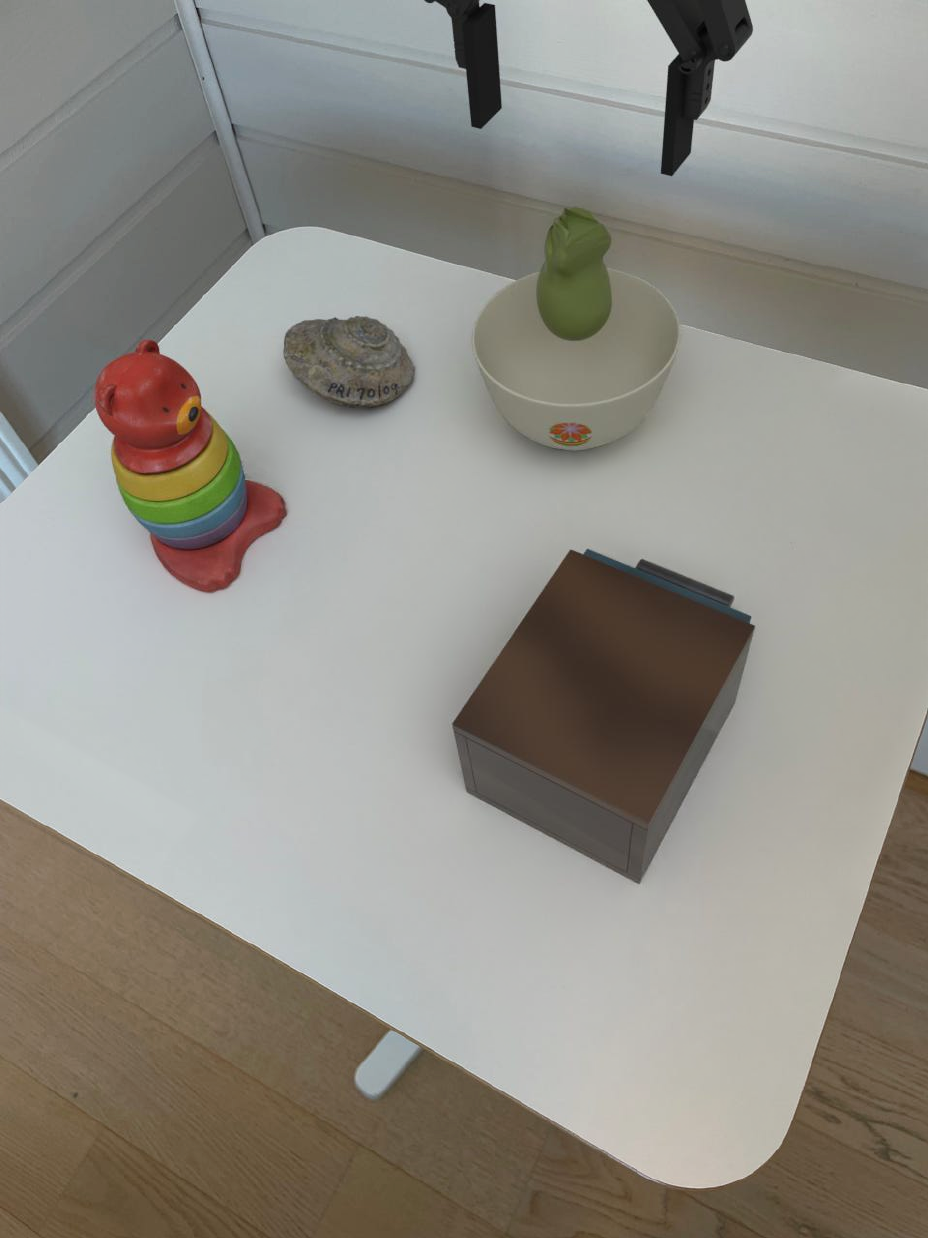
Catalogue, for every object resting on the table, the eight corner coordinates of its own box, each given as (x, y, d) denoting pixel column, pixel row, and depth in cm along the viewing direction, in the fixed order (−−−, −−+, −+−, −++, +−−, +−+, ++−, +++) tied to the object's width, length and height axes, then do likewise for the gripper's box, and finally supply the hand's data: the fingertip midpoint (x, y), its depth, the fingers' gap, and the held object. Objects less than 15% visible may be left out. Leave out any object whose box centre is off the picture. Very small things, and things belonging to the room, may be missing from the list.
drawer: (612, 573, 75) (615, 504, 69) (759, 634, 71) (778, 568, 65) (491, 761, 68) (482, 704, 61) (648, 842, 64) (656, 791, 57)
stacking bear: (219, 601, 79) (137, 441, 64) (122, 557, 82) (23, 396, 67) (297, 505, 83) (237, 335, 69) (202, 467, 87) (126, 298, 72)
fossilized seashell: (360, 427, 85) (333, 349, 81) (279, 419, 92) (250, 348, 88) (436, 370, 91) (414, 296, 87) (355, 367, 98) (331, 298, 94)
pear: (584, 298, 79) (584, 182, 71) (625, 334, 77) (631, 217, 68) (525, 328, 78) (519, 214, 70) (565, 365, 75) (564, 250, 67)
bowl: (698, 387, 87) (711, 291, 78) (626, 519, 79) (632, 429, 71) (530, 341, 92) (525, 247, 84) (449, 461, 85) (435, 371, 76)
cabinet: (571, 629, 74) (570, 548, 66) (734, 703, 70) (755, 625, 61) (466, 792, 68) (451, 723, 60) (639, 884, 63) (648, 824, 55)
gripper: (870, -308, 44) (788, 150, 61) (400, -333, 53) (445, 72, 70) (806, -247, 41) (738, 219, 58) (316, -285, 50) (385, 128, 67)
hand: (577, 139), depth 64 cm, fingers open, 13 cm apart
